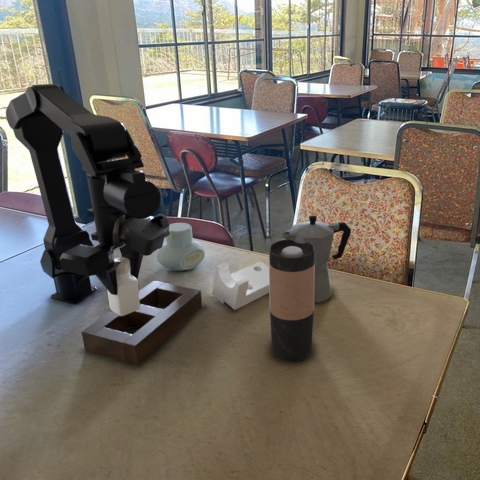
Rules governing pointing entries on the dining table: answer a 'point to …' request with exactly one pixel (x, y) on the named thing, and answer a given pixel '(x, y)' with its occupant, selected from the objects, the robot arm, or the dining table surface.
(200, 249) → the air freshener
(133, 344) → the stand
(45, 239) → the robot arm
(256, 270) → the bracket
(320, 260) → the coffeepot
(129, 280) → the salt shaker
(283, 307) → the travel mug
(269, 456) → the dining table surface
